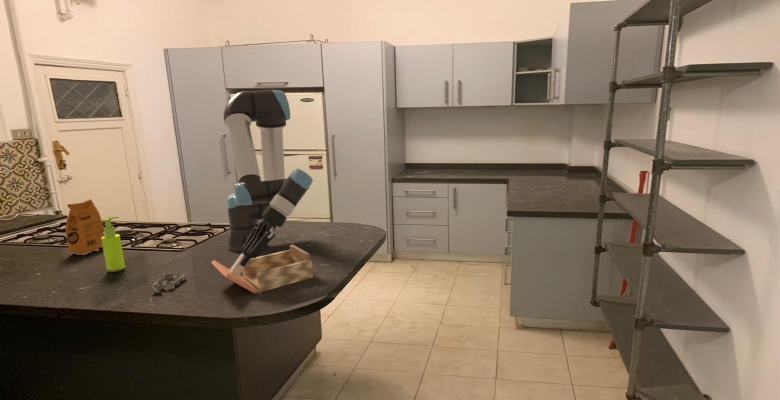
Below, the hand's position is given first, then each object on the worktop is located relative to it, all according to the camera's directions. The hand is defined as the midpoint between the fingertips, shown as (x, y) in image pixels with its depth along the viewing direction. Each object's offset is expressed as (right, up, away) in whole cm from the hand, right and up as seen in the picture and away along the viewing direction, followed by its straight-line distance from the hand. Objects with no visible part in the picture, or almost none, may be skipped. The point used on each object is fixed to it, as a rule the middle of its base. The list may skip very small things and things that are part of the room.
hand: (233, 273), depth 140 cm
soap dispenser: (-53, -3, +28) cm, 60 cm away
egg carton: (-24, -6, +9) cm, 27 cm away
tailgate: (+3, -5, +5) cm, 7 cm away
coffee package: (-81, +1, +53) cm, 96 cm away
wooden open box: (+11, -4, +11) cm, 16 cm away
